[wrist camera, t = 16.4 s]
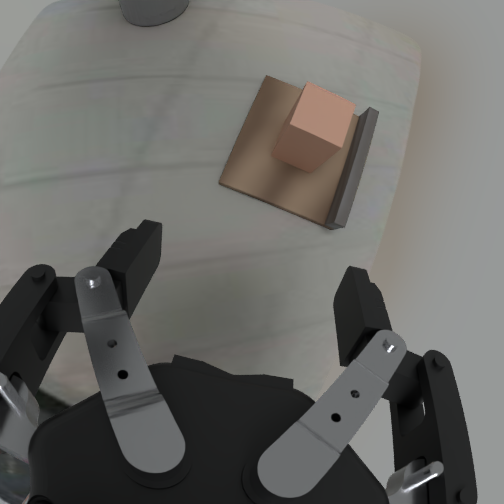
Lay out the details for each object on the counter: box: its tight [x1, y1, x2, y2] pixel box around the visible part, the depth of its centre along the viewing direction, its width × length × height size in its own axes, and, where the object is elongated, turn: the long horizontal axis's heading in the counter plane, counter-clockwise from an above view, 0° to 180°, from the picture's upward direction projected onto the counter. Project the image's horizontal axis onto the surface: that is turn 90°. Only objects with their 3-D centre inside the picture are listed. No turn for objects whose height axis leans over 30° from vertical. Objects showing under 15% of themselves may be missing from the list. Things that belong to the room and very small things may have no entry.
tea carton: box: [271, 81, 356, 173], centre depth 29 cm, size 5×5×9 cm
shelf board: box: [219, 75, 379, 230], centre depth 32 cm, size 13×14×4 cm
